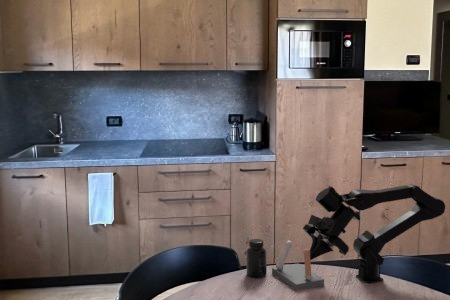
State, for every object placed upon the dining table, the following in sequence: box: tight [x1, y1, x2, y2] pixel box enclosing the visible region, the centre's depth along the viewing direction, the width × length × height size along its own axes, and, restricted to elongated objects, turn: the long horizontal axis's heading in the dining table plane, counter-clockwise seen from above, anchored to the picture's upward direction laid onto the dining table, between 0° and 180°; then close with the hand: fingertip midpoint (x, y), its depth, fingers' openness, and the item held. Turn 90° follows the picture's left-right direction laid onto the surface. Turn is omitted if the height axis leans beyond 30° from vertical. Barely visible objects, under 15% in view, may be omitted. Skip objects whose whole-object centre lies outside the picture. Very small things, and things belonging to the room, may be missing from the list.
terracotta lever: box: [302, 248, 313, 281], centre depth 147 cm, size 2×2×10 cm
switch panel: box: [271, 263, 325, 292], centre depth 153 cm, size 10×16×2 cm
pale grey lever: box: [275, 240, 293, 270], centre depth 156 cm, size 2×2×10 cm
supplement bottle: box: [245, 238, 268, 279], centre depth 156 cm, size 7×7×12 cm
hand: (308, 259), depth 147 cm, fingers closed, pressing on terracotta lever
